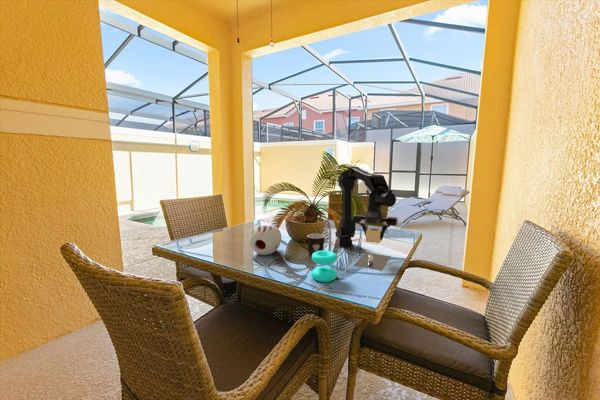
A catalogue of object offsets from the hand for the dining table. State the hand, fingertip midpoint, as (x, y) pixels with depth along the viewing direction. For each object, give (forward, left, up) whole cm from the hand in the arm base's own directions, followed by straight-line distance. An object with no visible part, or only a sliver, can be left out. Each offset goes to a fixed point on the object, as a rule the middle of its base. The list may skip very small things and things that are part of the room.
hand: (374, 239), depth 122 cm
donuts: (-24, -13, -12) cm, 30 cm away
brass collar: (0, 0, -1) cm, 1 cm away
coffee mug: (-26, +14, -12) cm, 32 cm away
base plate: (0, +1, -12) cm, 12 cm away
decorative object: (-49, +19, -12) cm, 54 cm away
